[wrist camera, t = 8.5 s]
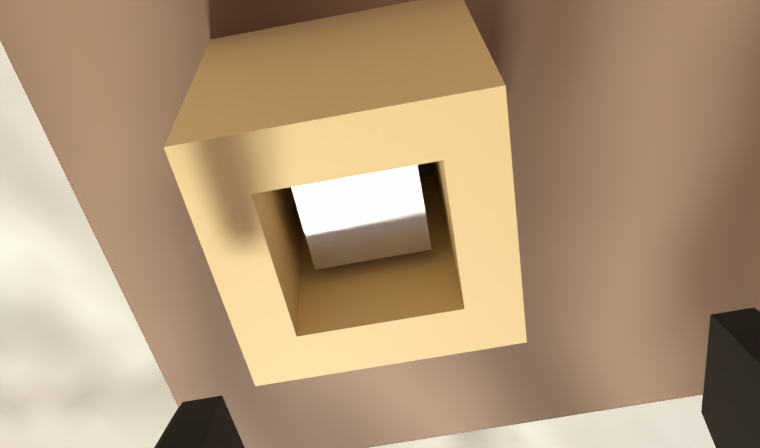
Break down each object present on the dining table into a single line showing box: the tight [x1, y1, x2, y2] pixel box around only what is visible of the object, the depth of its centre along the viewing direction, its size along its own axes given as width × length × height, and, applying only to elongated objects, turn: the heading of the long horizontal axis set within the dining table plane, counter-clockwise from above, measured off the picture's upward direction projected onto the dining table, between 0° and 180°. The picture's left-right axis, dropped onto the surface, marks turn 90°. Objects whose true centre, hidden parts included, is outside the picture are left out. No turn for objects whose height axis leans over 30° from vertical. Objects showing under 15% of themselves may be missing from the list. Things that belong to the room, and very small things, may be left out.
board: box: [0, 0, 760, 448], centre depth 19 cm, size 22×16×2 cm
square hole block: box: [164, 0, 527, 386], centre depth 15 cm, size 5×5×5 cm
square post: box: [291, 165, 432, 270], centre depth 15 cm, size 2×2×4 cm
